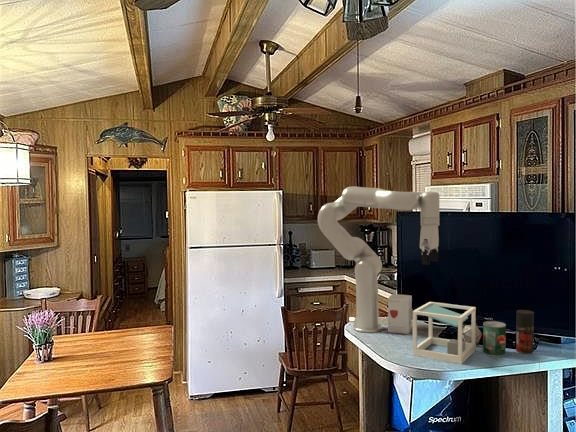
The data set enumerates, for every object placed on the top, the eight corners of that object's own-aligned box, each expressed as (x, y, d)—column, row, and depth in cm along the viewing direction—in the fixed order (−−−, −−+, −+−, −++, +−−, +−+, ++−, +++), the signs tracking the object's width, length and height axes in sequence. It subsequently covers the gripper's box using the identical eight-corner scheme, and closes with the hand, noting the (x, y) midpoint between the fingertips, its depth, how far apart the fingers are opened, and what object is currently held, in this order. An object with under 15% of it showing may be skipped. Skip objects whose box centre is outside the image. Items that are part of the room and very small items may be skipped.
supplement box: (387, 332, 219) (387, 297, 218) (391, 327, 227) (391, 293, 226) (408, 334, 215) (408, 299, 214) (412, 328, 224) (412, 294, 223)
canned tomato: (507, 357, 185) (507, 327, 185) (483, 355, 187) (484, 326, 187) (504, 350, 193) (504, 321, 192) (481, 348, 195) (482, 320, 194)
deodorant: (512, 350, 193) (512, 310, 192) (524, 347, 195) (524, 309, 194) (525, 354, 188) (525, 314, 187) (537, 352, 190) (537, 312, 189)
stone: (447, 342, 188) (461, 344, 185) (451, 339, 192) (465, 341, 189) (447, 355, 188) (461, 358, 185) (451, 352, 192) (465, 354, 190)
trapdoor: (417, 313, 189) (418, 311, 189) (431, 305, 201) (432, 303, 200) (456, 327, 181) (456, 325, 181) (468, 318, 193) (468, 316, 193)
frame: (412, 355, 189) (412, 311, 188) (429, 342, 204) (429, 301, 203) (461, 364, 179) (461, 317, 178) (475, 350, 193) (475, 307, 192)
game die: (473, 352, 203) (484, 330, 205) (478, 351, 194) (490, 328, 196) (452, 339, 205) (464, 318, 207) (457, 338, 197) (469, 316, 199)
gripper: (428, 220, 221) (428, 259, 222) (413, 223, 207) (413, 265, 208) (445, 220, 216) (445, 260, 218) (431, 223, 202) (431, 266, 203)
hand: (430, 262), depth 213 cm, fingers open, 9 cm apart
